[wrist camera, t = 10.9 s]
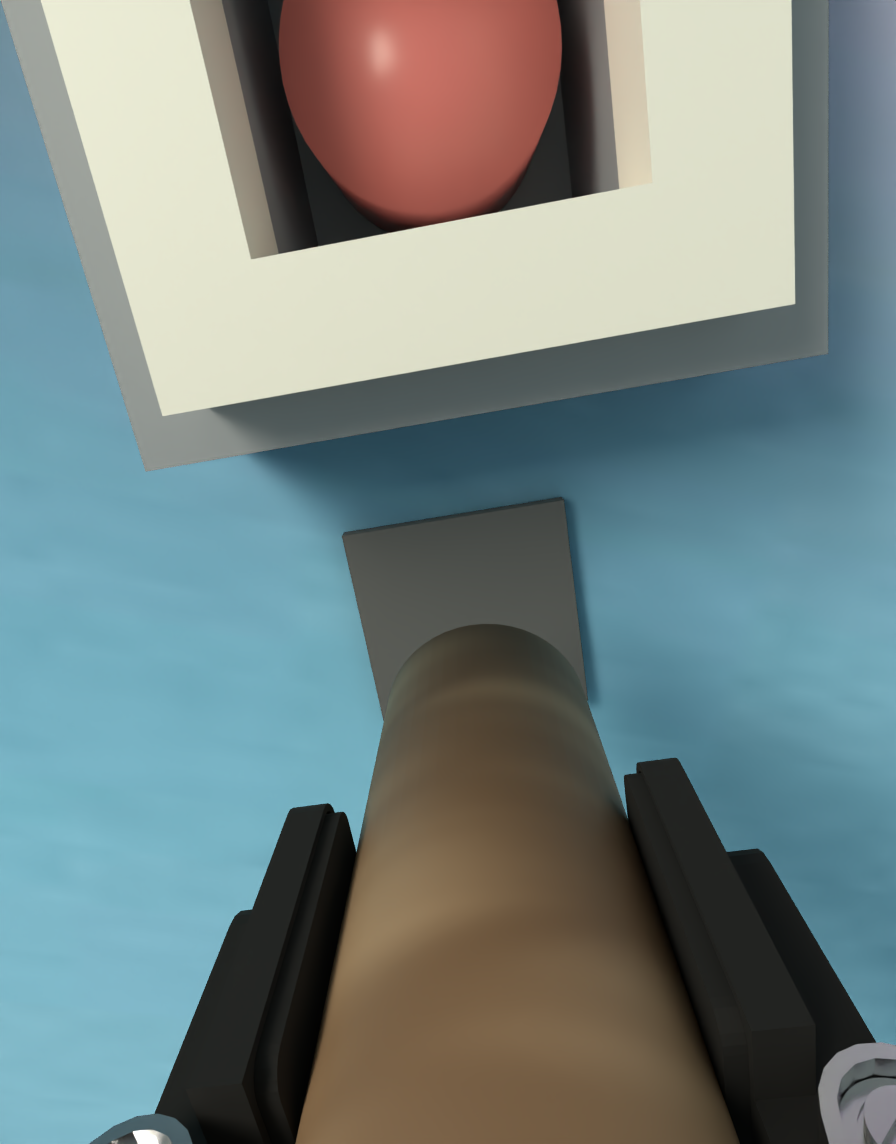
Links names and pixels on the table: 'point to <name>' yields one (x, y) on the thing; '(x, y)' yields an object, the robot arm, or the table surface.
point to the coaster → (464, 581)
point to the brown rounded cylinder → (503, 929)
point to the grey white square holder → (436, 252)
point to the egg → (421, 99)
